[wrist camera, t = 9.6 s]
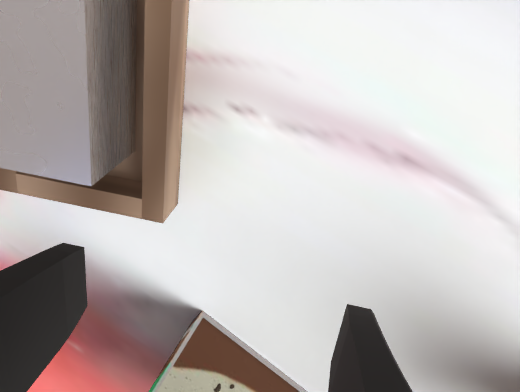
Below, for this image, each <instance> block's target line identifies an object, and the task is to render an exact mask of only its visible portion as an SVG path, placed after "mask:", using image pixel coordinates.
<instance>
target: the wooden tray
mask: <svg viewBox="0 0 520 392" xmlns="http://www.w3.org/2000/svg"><path fill="white" fill-rule="evenodd" d="M188 12H189V0H137V29H136V119H135V152H133V153H132V154H131V155H130V156H128V157H127V158H126V159H125V160H123V161H122V162H121V163H120V164H119V165H117V166H116V167H115V168H114V169H112V170H111V171H110V172H109V173H107V174H106V175H105V176H104V177H102V178H101V179H100V180H99V181H97V182H96V183H95V184H94V185H92V186H87V185H82V184H77V183H72V182H67V181H62V180H57V179H52V178H48V177H43V176H38V175H33V174H28V173H23V172H18V171H14V170H9V169H4V168H0V190H5V191H10V192H15V193H19V194H24V195H29V196H34V197H39V198H44V199H48V200H53V201H58V202H63V203H68V204H72V205H77V206H82V207H87V208H92V209H97V210H101V211H106V212H111V213H116V214H121V215H126V216H130V217H135V218H140V219H145V220H150V221H155V222H159V223H163V222H164V221H165V220H166V218H167V217H168V216H169V214H170V213H171V212H172V211H173V209H174V208H175V207H176V205H177V204H178V190H179V172H180V155H181V137H182V119H183V101H184V83H185V65H186V47H187V29H188Z"/></svg>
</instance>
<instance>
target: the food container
mask: <svg viewBox="0 0 520 392" xmlns="http://www.w3.org/2000/svg"><path fill="white" fill-rule="evenodd" d="M149 392H307V391H306V390H305V389H303V388H302V387H301V386H299V385H298V384H297V383H296V382H294V381H293V380H292V379H290V378H289V377H288V376H286V375H285V374H284V373H283V372H281V371H280V370H279V369H277V368H276V367H275V366H273V365H272V364H271V363H270V362H268V361H267V360H266V359H264V358H263V357H262V356H261V355H259V354H258V353H257V352H255V351H254V350H253V349H251V348H250V347H249V346H248V345H246V344H245V343H244V342H242V341H241V340H240V339H238V338H237V337H236V336H235V335H233V334H232V333H231V332H229V331H228V330H227V329H226V328H224V327H223V326H222V325H220V324H219V323H218V322H216V321H215V320H214V319H213V318H211V317H210V316H209V315H207V314H206V313H205V312H203V311H201V313H200V314H199V315H198V316H197V317H196V318H195V319H194V321H193V322H192V323H191V325H190V326H189V328H188V329H187V331H186V333H185V334H184V336H183V337H182V339H181V341H180V342H179V344H178V345H177V347H176V349H175V350H174V352H173V353H172V355H171V357H170V358H169V360H168V361H167V363H166V365H165V366H164V368H163V369H162V371H161V373H160V374H159V376H158V377H157V379H156V381H155V382H154V384H153V385H152V387H151V389H150V390H149Z"/></svg>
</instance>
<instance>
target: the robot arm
mask: <svg viewBox="0 0 520 392" xmlns="http://www.w3.org/2000/svg"><path fill="white" fill-rule="evenodd" d="M86 307H87V292H86V273H85V254H84V247H80V246H75V245H71V244H66V243H62V244H59V245H57V246H54V247H52V248H49V249H47V250H45V251H43V252H40V253H38V254H36V255H34V256H32V257H30V258H27V259H25V260H23V261H21V262H19V263H17V264H14V265H12V266H10V267H8V268H5V269H3V270H1V271H0V392H27V391H28V389H29V388H30V387H31V386H32V384H33V383H34V382H35V380H36V379H37V378H38V377H39V375H40V374H41V373H42V372H43V370H44V369H45V368H46V366H47V365H48V364H49V363H50V361H51V360H52V359H53V357H54V356H55V355H56V354H57V352H58V351H59V350H60V348H61V347H62V346H63V344H64V343H65V342H66V340H67V339H68V338H69V336H70V335H71V333H72V331H73V330H74V328H75V326H76V325H77V323H78V321H79V320H80V318H81V316H82V314H83V313H84V311H85V309H86ZM328 392H412V390H411V388H410V387H409V385H408V383H407V381H406V379H405V378H404V376H403V374H402V372H401V370H400V368H399V366H398V364H397V363H396V361H395V359H394V357H393V355H392V353H391V351H390V349H389V346H388V344H387V342H386V340H385V338H384V336H383V334H382V331H381V329H380V327H379V325H378V322H377V320H376V318H375V315H374V313H373V312H372V310H371V309H367V308H362V307H358V306H353V305H349V304H347V307H346V310H345V314H344V317H343V321H342V324H341V328H340V332H339V335H338V339H337V342H336V346H335V350H334V353H333V357H332V360H331V368H330V379H329V390H328Z"/></svg>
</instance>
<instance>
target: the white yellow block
mask: <svg viewBox="0 0 520 392" xmlns="http://www.w3.org/2000/svg"><path fill="white" fill-rule="evenodd" d="M136 29H137V0H0V168H4V169H9V170H14V171H18V172H23V173H28V174H33V175H38V176H43V177H48V178H52V179H57V180H62V181H67V182H72V183H77V184H82V185H87V186H92V185H94V184H95V183H96V182H97V181H99V180H100V179H101V178H102V177H104V176H105V175H106V174H107V173H109V172H110V171H111V170H112V169H114V168H115V167H116V166H117V165H119V164H120V163H121V162H122V161H123V160H125V159H126V158H127V157H128V156H130V155H131V154H132V153H133V152H135V119H136Z"/></svg>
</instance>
